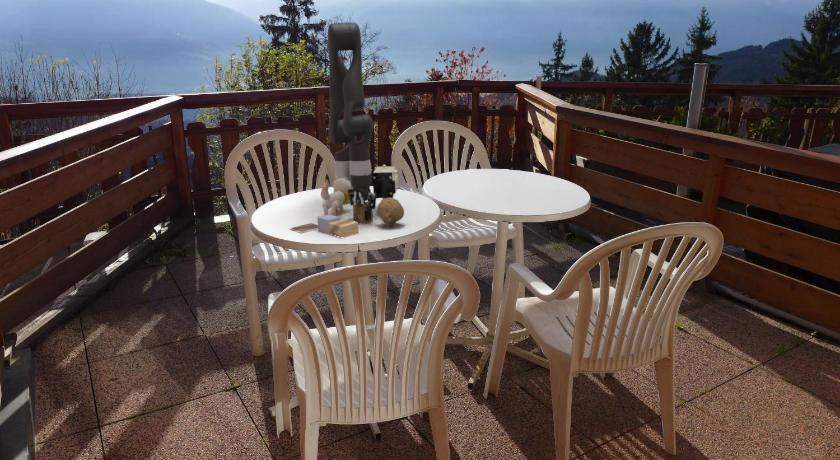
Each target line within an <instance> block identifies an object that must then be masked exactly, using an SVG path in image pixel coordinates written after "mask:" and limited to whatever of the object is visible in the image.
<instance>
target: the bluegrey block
mask: <svg viewBox="0 0 840 460" xmlns="http://www.w3.org/2000/svg"><path fill="white" fill-rule="evenodd" d="M316 219H317V225H318V229H317V230H318V232H321V233H324V232H325V234H328V233H329V226H328V223H332V222H335V221H339V220H341V217H340V216H338V215H336V216H334V215H332V214H330V213H328V214H327V215H325V214H324V215H321V216H317V218H316Z"/></svg>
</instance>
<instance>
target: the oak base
mask: <svg viewBox="0 0 840 460" xmlns="http://www.w3.org/2000/svg"><path fill="white" fill-rule="evenodd" d="M328 226H329V235H331V234H332V235H331V236H334V235H336V236H335V237H337V236H339V237H338V238H341V237H344V238H347V237H350V236H349V235H351V236H353V235H352V234H354V235H356V233H357V234H359V223H358V222H354V220H350V219H347V218H346V219H345V218H343V219H340V220H339V221H335V222H332V223H328ZM346 236H347V237H346Z"/></svg>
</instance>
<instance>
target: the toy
mask: <svg viewBox="0 0 840 460" xmlns="http://www.w3.org/2000/svg"><path fill="white" fill-rule="evenodd" d="M329 187H330V182H329V180H328V179H327V178H325V181H324V184H323V186H322V187H321V191H320V197H321V199H322V200H324V201H323V203H322V207H323V212H324V215H327V214H329V210H330V209H331V215H334V216H337V213H338V211H339V213H340V215H341V214H344V206H347V204H348V203H347V201H348V200H349V195H348V189H353V187H352V186H351V182H350V181H349V180H348V179H347V177H345V178H340V179H339V178H338V177H337V176H336V175H334V180H333V181H332V187H333V192H331V193H329Z"/></svg>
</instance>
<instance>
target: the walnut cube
mask: <svg viewBox="0 0 840 460" xmlns="http://www.w3.org/2000/svg"><path fill="white" fill-rule="evenodd" d="M371 206H372V204H371ZM367 207H368V204H367ZM373 213H374V209H372V210H371V220H369V221H366V220H365V209H364V205H362V202H361V204H357V205H352V214H353V215H352V216H353V218H352V219H353V221H355V222H358V224H360V223H361V225H364V224H363V223H365V224H368V223H372V222H374V214H373ZM371 221H372V222H371ZM367 222H368V223H367Z"/></svg>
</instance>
